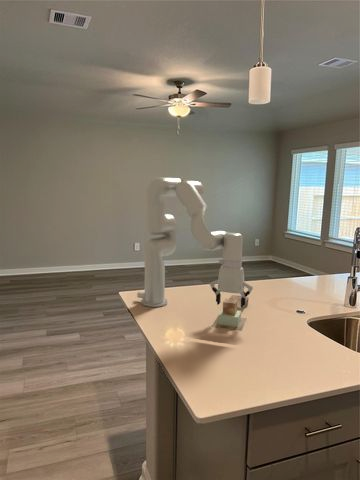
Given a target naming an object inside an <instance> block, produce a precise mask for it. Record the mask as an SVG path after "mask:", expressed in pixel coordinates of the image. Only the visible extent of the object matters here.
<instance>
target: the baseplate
mask: <svg viewBox="0 0 360 480" xmlns="http://www.w3.org/2000/svg"><path fill="white" fill-rule="evenodd" d="M246 321H247V318H246V317H241V321H240V323H239V326H238V327H233V326H226V325H219V324H218V316H217V317H216V318H215V320H214V321H213V323H212V325H211V327H214V328H220V329H227V330H235V331H241V332H242V331H243V328H244V326H245V323H246Z"/></svg>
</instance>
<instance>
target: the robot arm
mask: <svg viewBox="0 0 360 480" xmlns="http://www.w3.org/2000/svg"><path fill="white" fill-rule="evenodd" d="M204 195H205V187H204V185H203V184H202V182H200V181H198V180H192V179H185V178H181V177H168V176H167V177H166V176H165V177H164V176H163V177H162V176H161V177H160V176H159V177H154V178H153V179H151V180H150V181H149V182H148V183H147V185H146V188H145V200H146V202H145V203H146V221H145V222H146V223H145V226H146V231H147V233H148V234H149V235H153V236H156V237H150V238H148V239H147V240H145V241H144V242H143V244H142V254H143V261H144V292H137V293H136V295H137V296H136V297H137V298H141V300H140V301H141V302H140V303H141V305H143V306H144V307H148V308H149V307H150V308H158V307H164V306H166V305H167V304H168V302H169V301H168V299H167V298H166V297H165V290H166V289H165V287H166V286H165V285H166V284H165V280H166V279H165V278H166V273H165V272H166V271H165V270H166V267H165V262H164V260H163V257H168V256H170V255H172V254H174V253H175V251H176V249H177V236H178V235H177V234H178V232H177V231H178V230H177V227H178V225H177V221H176V218H175V216H173V214H170V213H166V205H165V201H164V199H163V197H177V198H178V200H179V201H180V203H181V205H182V206H183V207H184V209H185V212H186V213H187V214H188V216H189V219H190V221H189V222H190V231H191V234H192V236H193V237H194V239H195V241H196V242H197V244H198V245H199V246H200V248H202V249H203V250H204V251H208V252H210V251H216V250H221V249H222V250H223V251H222V259H219V260H218V264H220V265H221V266H220V267H219V271H218V273H219V274H218V279H217V280H213V281H212V282H210V283H209V285H210V287H211V288H210V289H211V290H212V292H214V294H215V303H216V305H218V306H219V305H220V304H221V298H222V297H221V295H222V294H221V293H230V294H240V296H242V298H241V307H242V308H243V306H244V305H245V297H249V295H250V294H251V293H252V291H253V289H254V287H253V286H252V285H250V284H249V283H247V282H245V274H244V273H245V272H244V267H242V263H243V261H242V260H243V259H242V258H243V244H244V243H243V242H244V239H243V238H244V237H243V234H241V233H239V232H230V231H225V230H213V231H212V230H211V231H210V230H209V228H208V226H207V225H206V223H205V220H204V217H205V216H204V215H205V214H206V213H207V212H208V208H209V207H208V205H207V203H206V202H205V201H204V199H203V197H204ZM158 235H160V236H158ZM215 285H217V287H216V286H215ZM245 288H247V289H248V290H247V291H246V292H245V291H244V290H245Z"/></svg>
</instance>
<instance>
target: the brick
mask: <svg viewBox="0 0 360 480" xmlns="http://www.w3.org/2000/svg"><path fill="white" fill-rule="evenodd" d="M241 298H242V296H241V295H234V294H232V295H230V297H229V298H228V299H234V300H237V310H238V311H241V314H242V312H243V311H244V310H245V309H247V307H248V305H249V296H246V297H245V305H244V306H243V308H242V307H241Z"/></svg>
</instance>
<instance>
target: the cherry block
mask: <svg viewBox="0 0 360 480" xmlns="http://www.w3.org/2000/svg"><path fill="white" fill-rule="evenodd" d="M222 309H223V314H226V315H234V316H235V314H236V312H237V300H234V299H229V298H224V300H223V302H222Z"/></svg>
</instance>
